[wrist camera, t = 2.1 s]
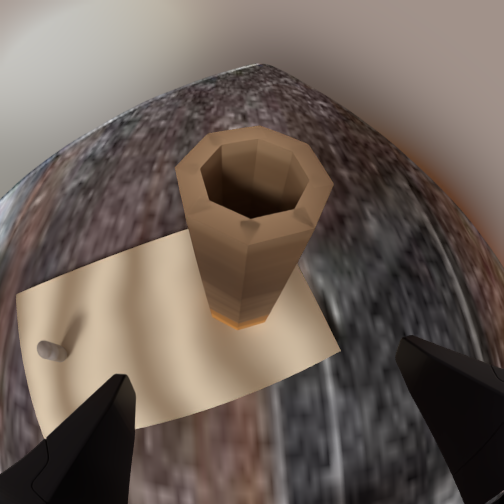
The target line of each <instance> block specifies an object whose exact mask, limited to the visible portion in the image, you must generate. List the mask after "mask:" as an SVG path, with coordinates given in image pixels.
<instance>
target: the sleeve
mask: <svg viewBox="0 0 504 504" xmlns="http://www.w3.org/2000/svg"><path fill="white" fill-rule="evenodd" d="M175 170H176V175H177V180H178V184H179V189H180V194H181V198H182V203H183V207H184V211H185V217H186V221H187V225H188V229H189V233H190V238H191V242H192V245H193V249H194V253H195V257H196V261H197V265H198V269H199V272H200V276H201V280H202V283H203V287H204V290H205V294H206V297H207V301H208V304H209V308H210V311H211V315H212V317H213V318H215V319H217V320H219V321H220V322H222V323H224V324H226V325H228V326H230V327H232V328H234V329H236V330H241V329H244V328H247V327H251V326H254V325H257V324H261V323H264V322H265V321H266V319H267V317H268V316H269V314H270V312H271V310H272V309H273V307H274V305H275V303H276V301H277V300H278V298H279V296H280V294H281V292H282V290H283V289H284V287H285V285H286V283H287V281H288V279H289V277H290V276H291V274H292V272H293V270H294V268H295V266H296V264H297V262H298V260H299V259H300V257H301V255H302V253H303V251H304V249H305V247H306V245H307V243H308V241H309V239H310V237H311V235H312V233H313V231H314V229H315V227H316V224H317V222H318V220H319V217H320V215H321V213H322V211H323V208H324V206H325V204H326V201H327V199H328V197H329V194H330V192H331V190H332V187H333V185H334V184H333V182H332V180H331V179H330V177H329V175H328V174H327V172H326V171H325V169H324V168H323V166H322V164H321V163H320V161H319V160H318V158H317V157H316V155H315V154H314V152H313V151H312V149H311V148H310V146H309V144H306V143H304V142H301V141H299V140H296V139H294V138H291V137H289V136H286V135H284V134H281V133H278V132H276V131H273V130H270V129H268V128H265V127H262V126H253V127H246V128H239V129H232V130H226V131H220V132H215V133H209V134H207V135H206V136H205V137H204V138H203V139H202V140H201V141H200V142H199V143H198V144H197V145H196V146H195V147H194V148H193V149H192V150H191V151H190V152H189V153H188V154H187V155H186V156H185V158H184V159H183V160H182V161H181V162H180V163H179V164H178V165H177V166H176V167H175Z"/></svg>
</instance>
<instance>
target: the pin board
mask: <svg viewBox="0 0 504 504" xmlns="http://www.w3.org/2000/svg"><path fill="white" fill-rule="evenodd" d="M16 304H17V318H18V329H19V337H20V345H21V351H22V357H23V363H24V368H25V373H26V378H27V382H28V387H29V391H30V395H31V399H32V402H33V406H34V409H35V413H36V416H37V419H38V422H39V425H40V428H41V431H42V434H43V436H44V439H46V437H47V436H48V435H49V434H50V433H51V432H52V431H53V430H54V429H55V428H57V427H58V426H59V425H60V424H61V423H62V422H63V421H64V420H65V419H66V418H67V417H68V416H69V415H70V414H72V413H73V412H74V411H75V410H76V409H77V408H78V407H79V406H80V405H81V404H82V403H83V402H84V401H86V400H87V399H88V398H89V397H90V396H91V395H92V394H93V393H94V392H95V391H96V390H97V389H98V388H100V387H101V386H102V385H103V384H104V383H105V382H106V381H107V380H108V379H109V378H110V377H111V376H113V375H114V374H127V375H128V377H129V379H130V381H131V383H132V386H133V388H134V390H135V393H136V413H135V429H138V428H143V427H147V426H151V425H155V424H159V423H163V422H167V421H170V420H174V419H177V418H181V417H184V416H188V415H191V414H194V413H197V412H200V411H203V410H207V409H210V408H212V407H215V406H218V405H221V404H224V403H227V402H229V401H232V400H235V399H237V398H240V397H243V396H245V395H248V394H250V393H253V392H255V391H258V390H260V389H263V388H265V387H267V386H270V385H272V384H274V383H276V382H279V381H281V380H283V379H285V378H288V377H290V376H292V375H294V374H296V373H298V372H300V371H302V370H304V369H306V368H308V367H311V366H313V365H314V364H316V363H318V362H320V361H322V360H324V359H326V358H328V357H330V356H332V355H334V354H335V353H337V352H339V351H341V350H340V348H339V346H338V344H337V342H336V340H335V338H334V336H333V334H332V332H331V330H330V328H329V326H328V324H327V322H326V319H325V317H324V315H323V313H322V311H321V309H320V307H319V305H318V303H317V301H316V299H315V297H314V295H313V294H312V292H311V290H310V288H309V286H308V284H307V282H306V280H305V278H304V276H303V274H302V272H301V270H300V268H299V266H298V264H296V266H295V268H294V270H293V272H292V274H291V276H290V277H289V279H288V281H287V283H286V285H285V287H284V289H283V290H282V292H281V294H280V296H279V298H278V300H277V301H276V303H275V305H274V307H273V309H272V310H271V312H270V314H269V316H268V317H267V319H266V321H265V322H264V323H261V324H257V325H254V326H251V327H247V328H244V329H241V330H236V329H234V328H232V327H230V326H228V325H226V324H224V323H222V322H220V321H219V320H217V319H215V318H213V317H212V315H211V311H210V308H209V304H208V301H207V297H206V294H205V290H204V287H203V283H202V280H201V276H200V272H199V269H198V265H197V261H196V257H195V253H194V249H193V245H192V242H191V238H190V233H189V229H186V230H183V231H180V232H177V233H174V234H171V235H168V236H165V237H163V238H160V239H157V240H154V241H151V242H148V243H145V244H143V245H140V246H137V247H134V248H132V249H129V250H126V251H123V252H121V253H118V254H115V255H113V256H110V257H107V258H105V259H102V260H99V261H97V262H94V263H92V264H89V265H86V266H84V267H81V268H79V269H76V270H74V271H71V272H69V273H66V274H64V275H61V276H59V277H56V278H54V279H51V280H49V281H47V282H44V283H42V284H40V285H37V286H35V287H32V288H30V289H28V290H26V291H23V292H21V293H19V294H16Z"/></svg>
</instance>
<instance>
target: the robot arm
mask: <svg viewBox="0 0 504 504" xmlns="http://www.w3.org/2000/svg"><path fill="white" fill-rule="evenodd" d="M395 358H396V363H397V365H398V367H399V369H400V371H401V374H402V376H403V378H404V380H405V383H406V385H407V387H408V390H409V392H410V394H411V396H412V398H413V400H414V401H415V403H416V405H417V407H418V409H419V410H420V412H421V414H422V416H423V418H424V420H425V421H426V423H427V425H428V427H429V429H430V431H431V433H432V435H433V437H434V439H435V441H436V443H437V445H438V447H439V449H440V451H441V453H442V455H443V457H444V459H445V461H446V463H447V465H448V467H449V469H450V471H451V474H452V475H453V478H454V481H455V483H456V485H457V487H458V490H459V492H460V494H461V497H462V499H463V502H464V504H485V503H486V502H488V501H489V500H491V499H492V498H494V497H495V496H496V495H498V494H499V493H500V492H502V491H503V490H504V369H501V368H498V367H496V366H493V365H490V364H487V363H485V362H482V361H479V360H476V359H474V358H471V357H468V356H466V355H463V354H460V353H458V352H455V351H452V350H450V349H447V348H444V347H442V346H439V345H436V344H434V343H431V342H429V341H426V340H423V339H421V338H418V337H416V336H413V335H409V336H406V337H403V338H402V339H401V340H400V343H399V346H398V349H397V352H396V357H395ZM135 413H136V393H135V390H134V388H133V386H132V383H131V381H130V379H129V377H128V375H127V374H114V375H113V376H111V377H110V378H109V379H108V380H107V381H106V382H105V383H104V384H103V385H102V386H101V387H100V388H98V389H97V390H96V391H95V392H94V393H93V394H92V395H91V396H90V397H89V398H88V399H87V400H86V401H84V402H83V403H82V404H81V405H80V406H79V407H78V408H77V409H76V410H75V411H74V412H73V413H72V414H70V415H69V416H68V417H67V418H66V419H65V420H64V421H63V422H62V423H61V424H60V425H59V426H58V427H57V428H55V429H54V430H53V431H52V432H51V433H50V434H49V435H48V436H47V437H46V439H44V440H42V441H41V442H40V443H39V444H38V445H37V446H36V447H35V448H34V449H33V450H31V451H30V452H29V453H28V454H27V455H25V456H24V457H23V458H22V459H20V460H19V461H18V462H16V463H15V464H14V465H12V466H11V467H9V468H8V469H7V470H5V471H4V472H2V473H1V474H0V504H128V494H129V482H130V472H131V464H132V455H133V448H134V439H135ZM492 504H504V492H503V493H502V494H501V495H500V496H499V497H498V498H497V499H496V500H495V501H494V502H493V503H492Z"/></svg>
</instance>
